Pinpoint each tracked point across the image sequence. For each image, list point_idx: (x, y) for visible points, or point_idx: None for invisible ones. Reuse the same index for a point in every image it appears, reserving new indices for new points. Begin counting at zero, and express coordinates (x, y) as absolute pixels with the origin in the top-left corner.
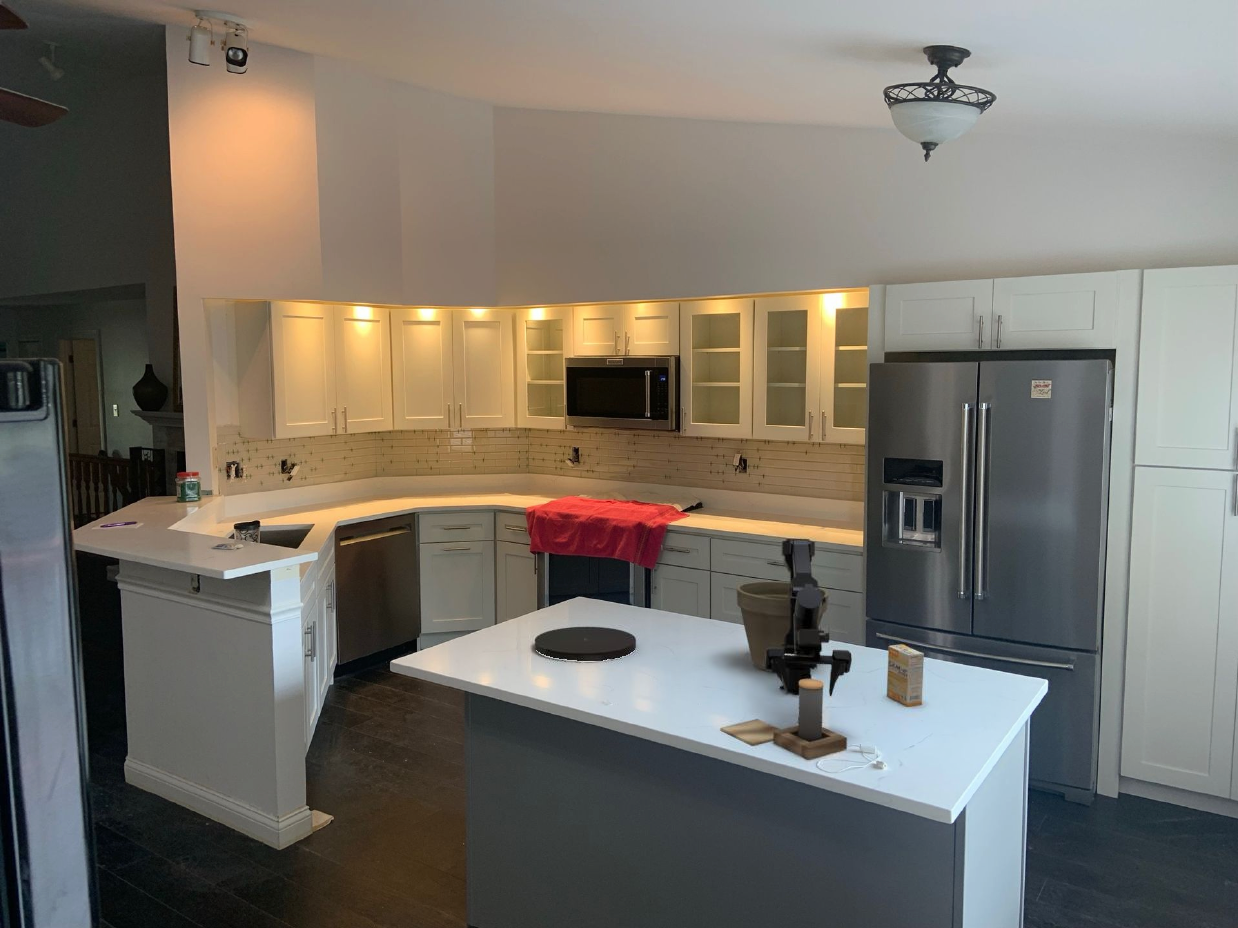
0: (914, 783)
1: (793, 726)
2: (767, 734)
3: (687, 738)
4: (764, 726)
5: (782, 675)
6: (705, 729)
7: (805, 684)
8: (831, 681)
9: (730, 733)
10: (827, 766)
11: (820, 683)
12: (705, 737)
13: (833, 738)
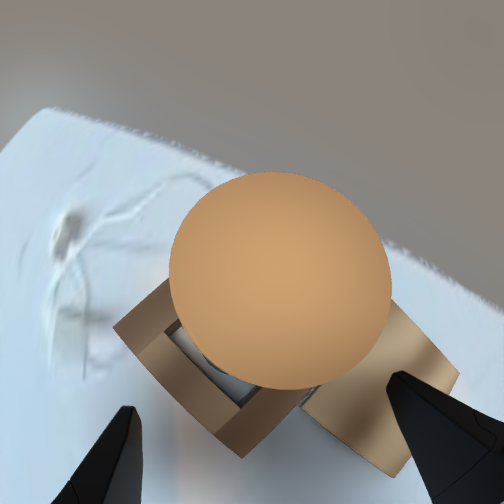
0: (39, 165)
1: (300, 399)
2: (364, 376)
3: (484, 300)
4: (376, 434)
5: (480, 414)
6: (475, 363)
7: (330, 210)
8: (104, 470)
9: (439, 352)
10: (190, 203)
11: (199, 256)
12: (467, 317)
13: (157, 311)
